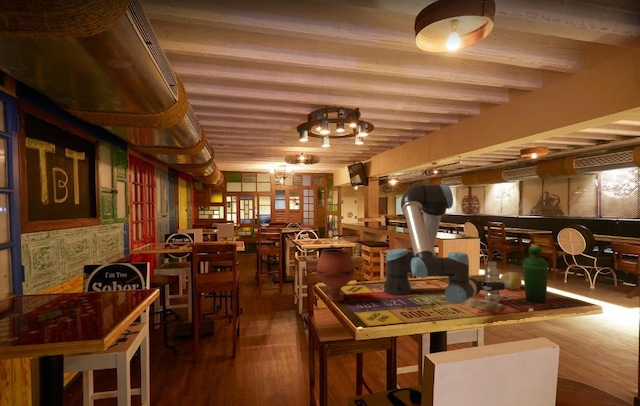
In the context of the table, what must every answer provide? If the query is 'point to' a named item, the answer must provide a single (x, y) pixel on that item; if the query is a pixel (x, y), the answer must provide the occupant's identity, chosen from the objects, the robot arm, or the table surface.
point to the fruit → (511, 280)
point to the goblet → (335, 271)
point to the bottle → (535, 275)
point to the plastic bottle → (492, 276)
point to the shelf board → (482, 304)
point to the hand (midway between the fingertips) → (485, 279)
